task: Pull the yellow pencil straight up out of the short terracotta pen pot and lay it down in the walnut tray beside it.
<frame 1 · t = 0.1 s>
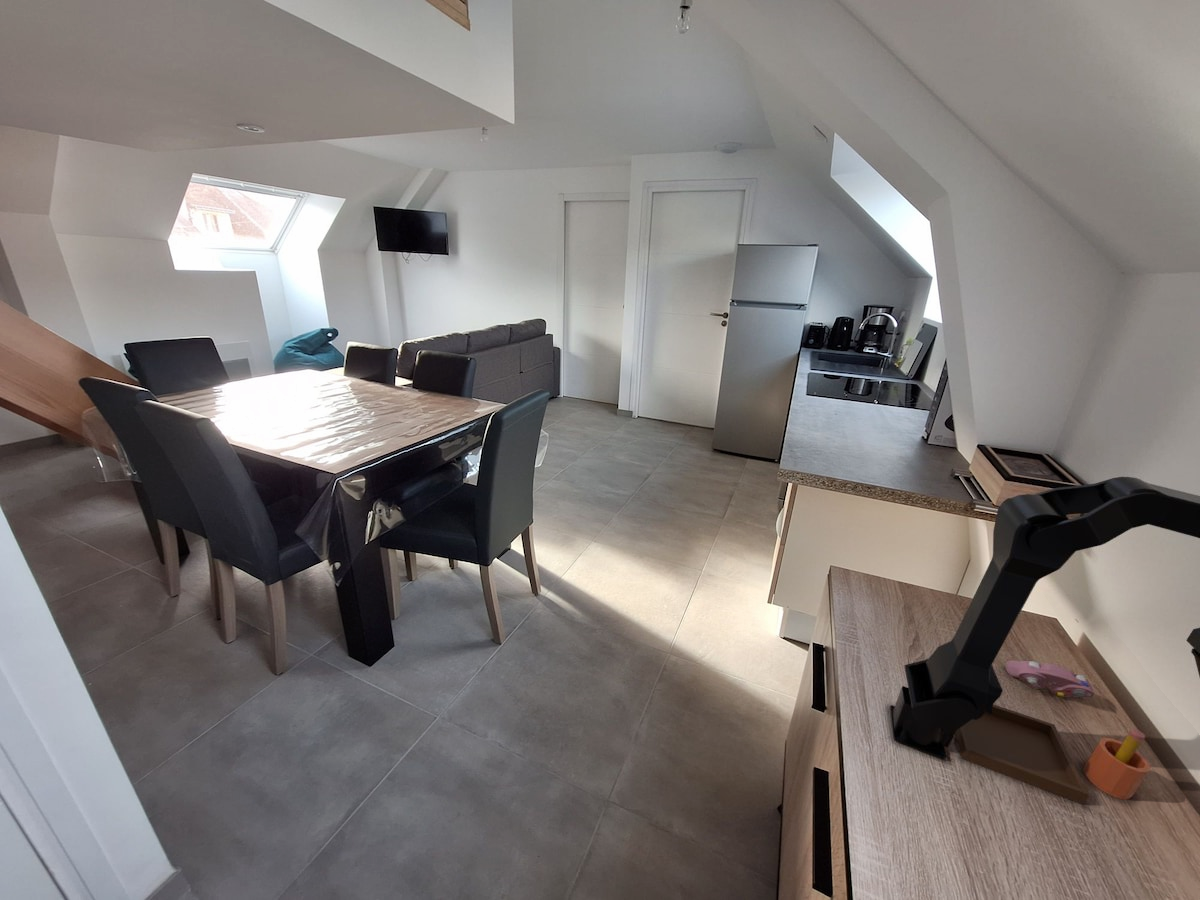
pen pot: (1106, 781, 62), on the sideboard
pencil: (1108, 779, 62), resting on pen pot
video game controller: (1042, 689, 77), on the sideboard
tray: (1006, 745, 67), on the sideboard
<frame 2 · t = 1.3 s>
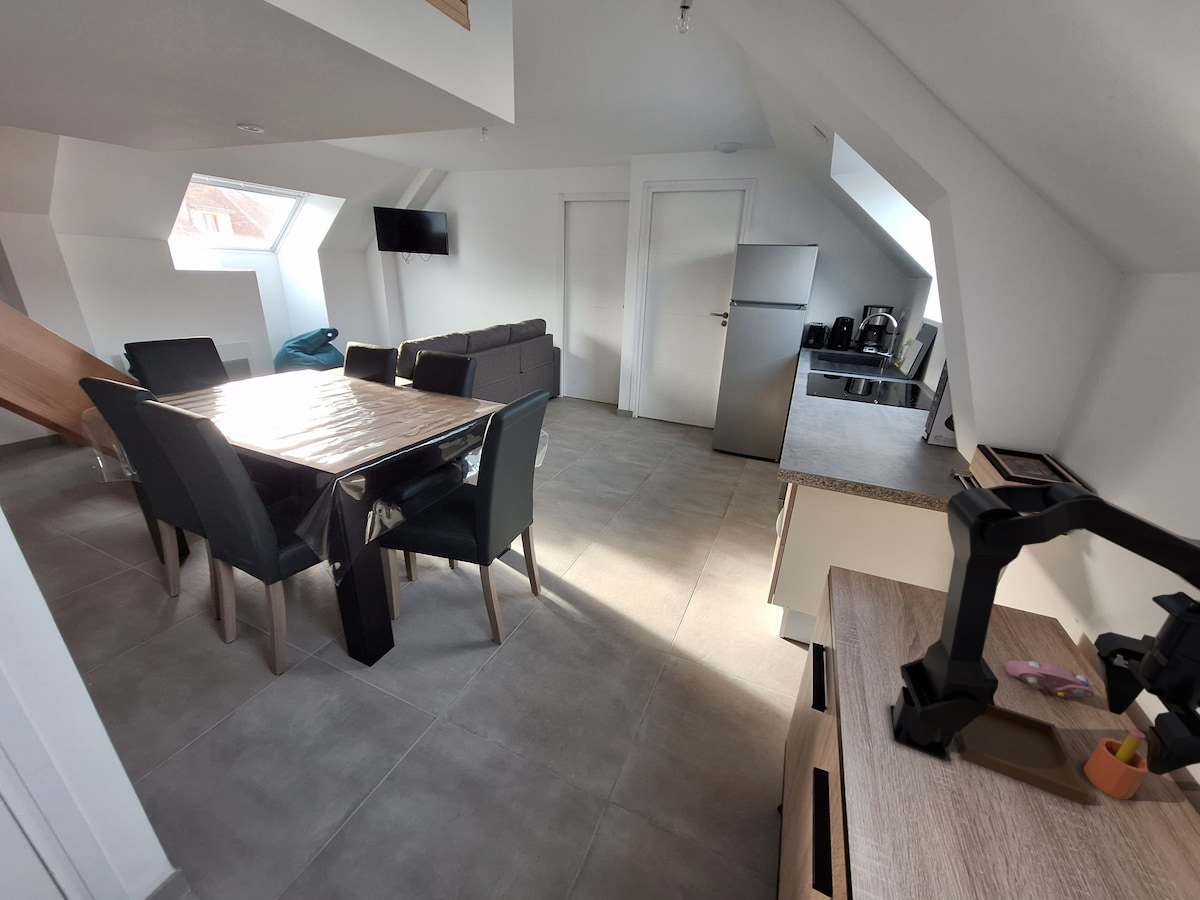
hand: (1132, 740, 60), 8 cm above the sideboard, tool pointing down, fingers open, 9 cm apart
nothing on the sideboard moved.
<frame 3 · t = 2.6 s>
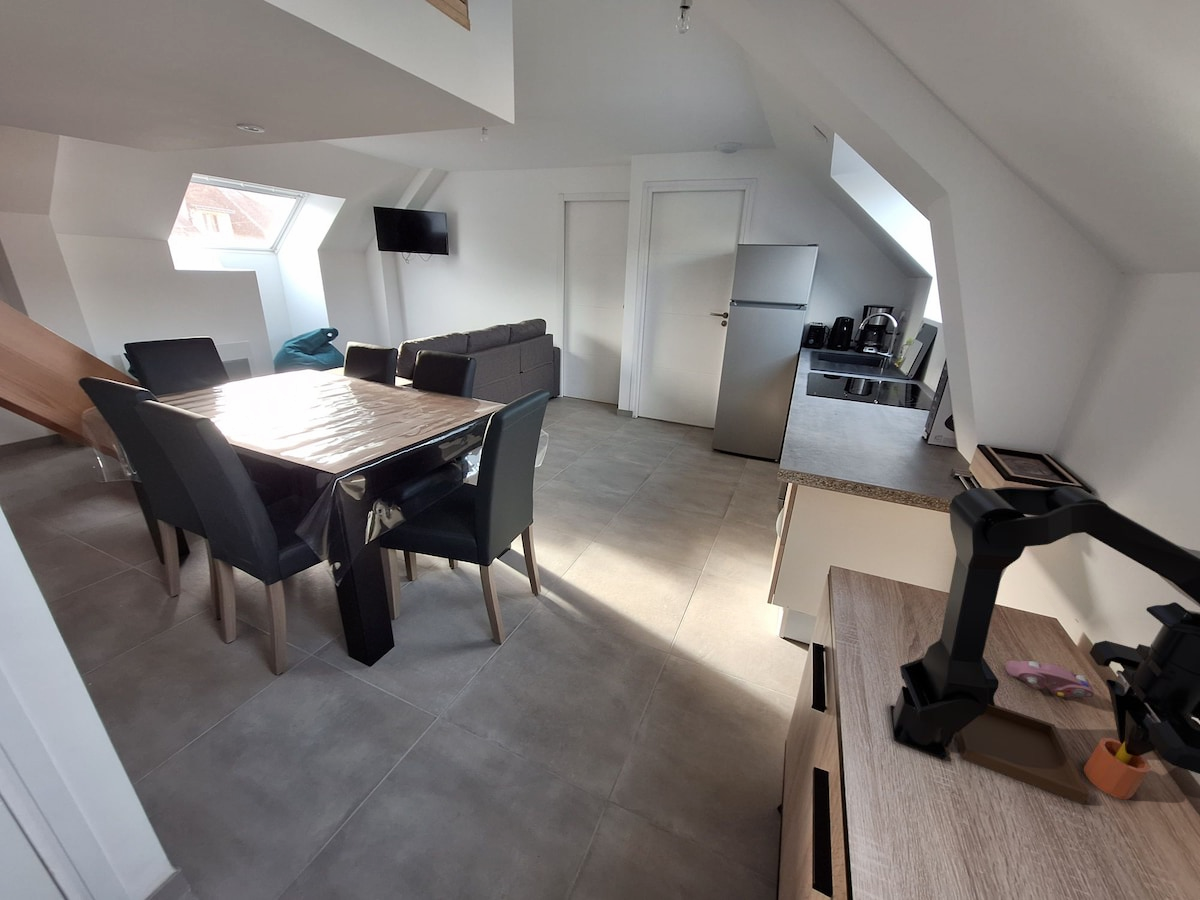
hand: (1127, 748, 60), 7 cm above the sideboard, tool pointing down, fingers closed on pencil, 1 cm apart
pencil: (1108, 779, 62), point 1 cm above the sideboard, touching gripper
everything else where it was.
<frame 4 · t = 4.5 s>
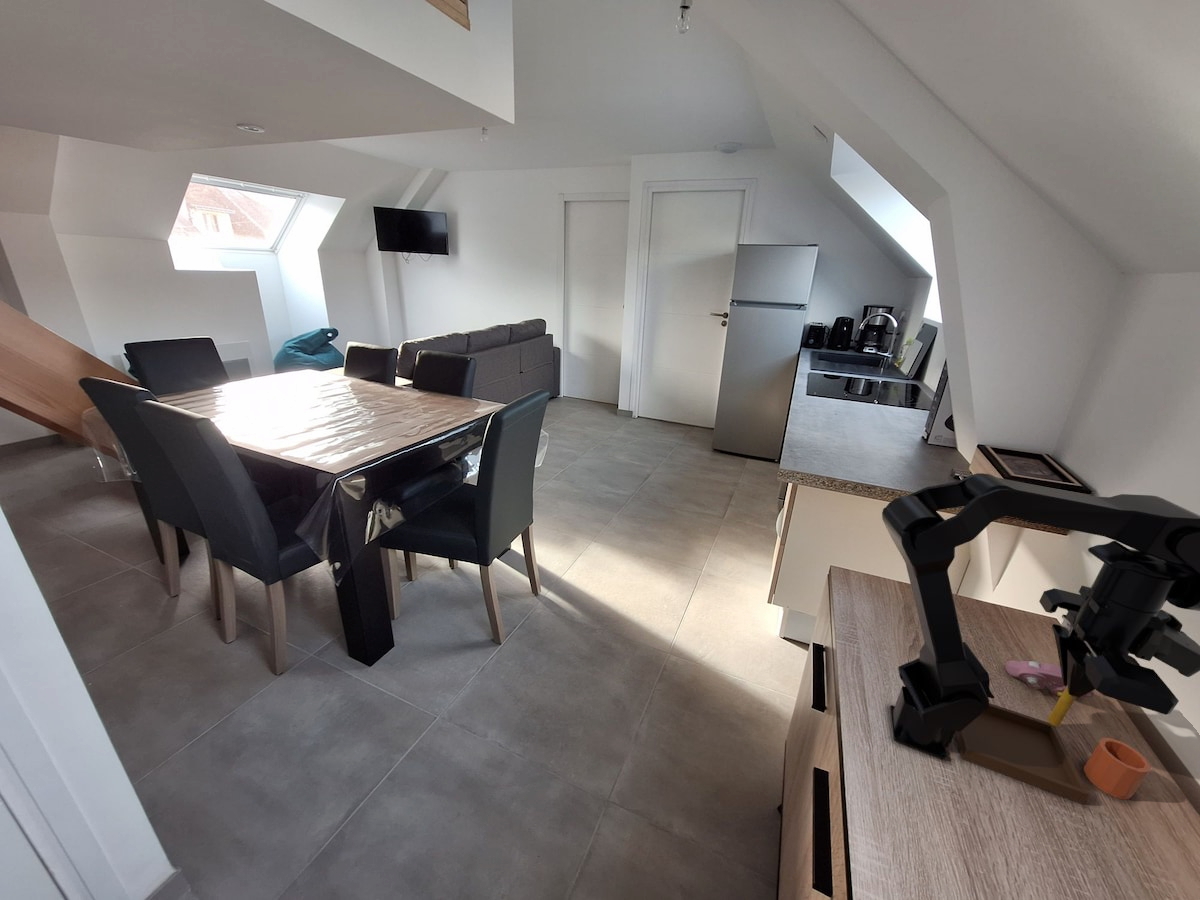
hand: (1071, 691, 61), 13 cm above the sideboard, tool pointing down, fingers closed on pencil
pencil: (1053, 722, 63), point 7 cm above the sideboard, touching gripper
everything else where it was.
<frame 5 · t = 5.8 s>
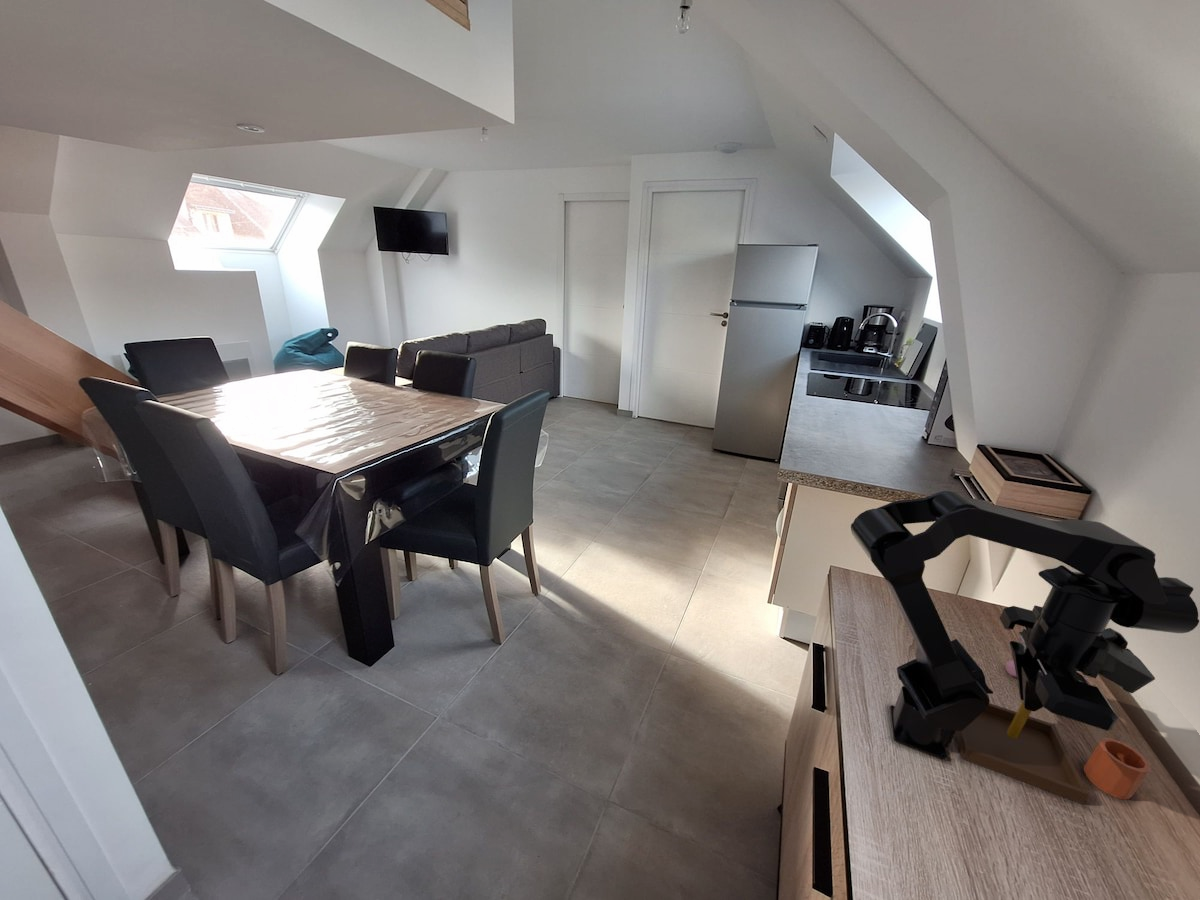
hand: (1027, 705, 64), 8 cm above the sideboard, tool pointing down, fingers closed on pencil, 1 cm apart
pencil: (1011, 735, 66), point 2 cm above the sideboard, touching gripper
everything else where it was.
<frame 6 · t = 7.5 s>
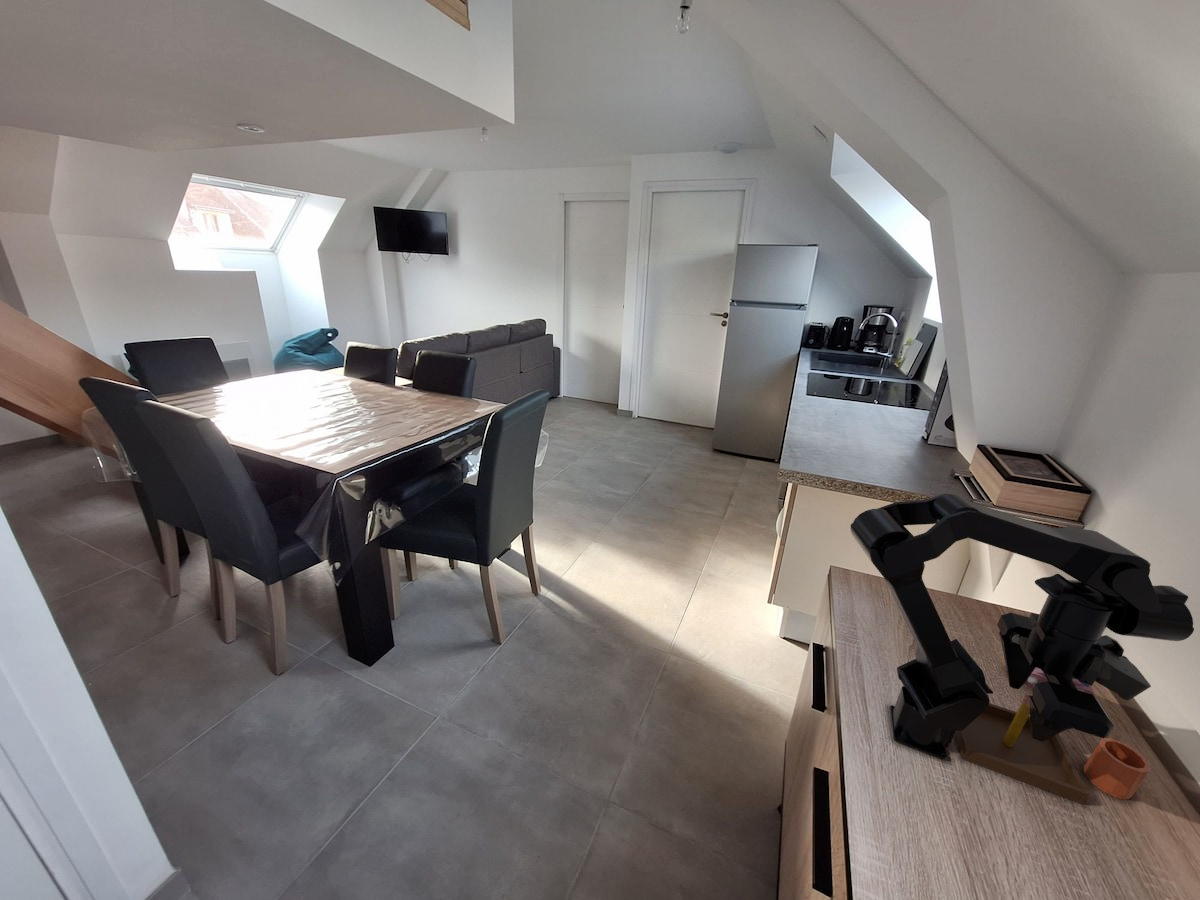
hand: (1024, 711, 64), 7 cm above the sideboard, tool pointing down, fingers open, 9 cm apart
pencil: (1007, 743, 67), resting on tray
everything else where it was.
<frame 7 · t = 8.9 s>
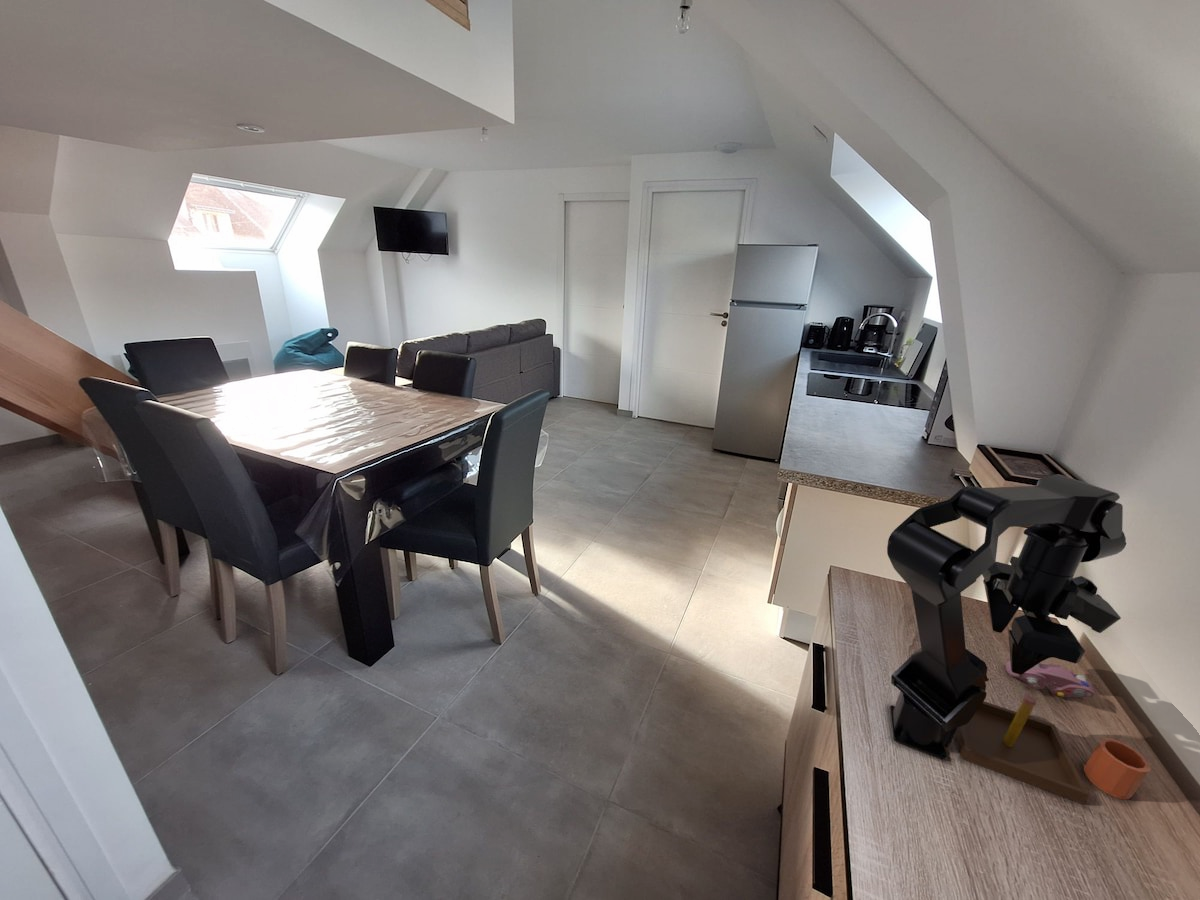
hand: (1005, 650, 68), 12 cm above the sideboard, tool pointing down, fingers open, 9 cm apart
nothing on the sideboard moved.
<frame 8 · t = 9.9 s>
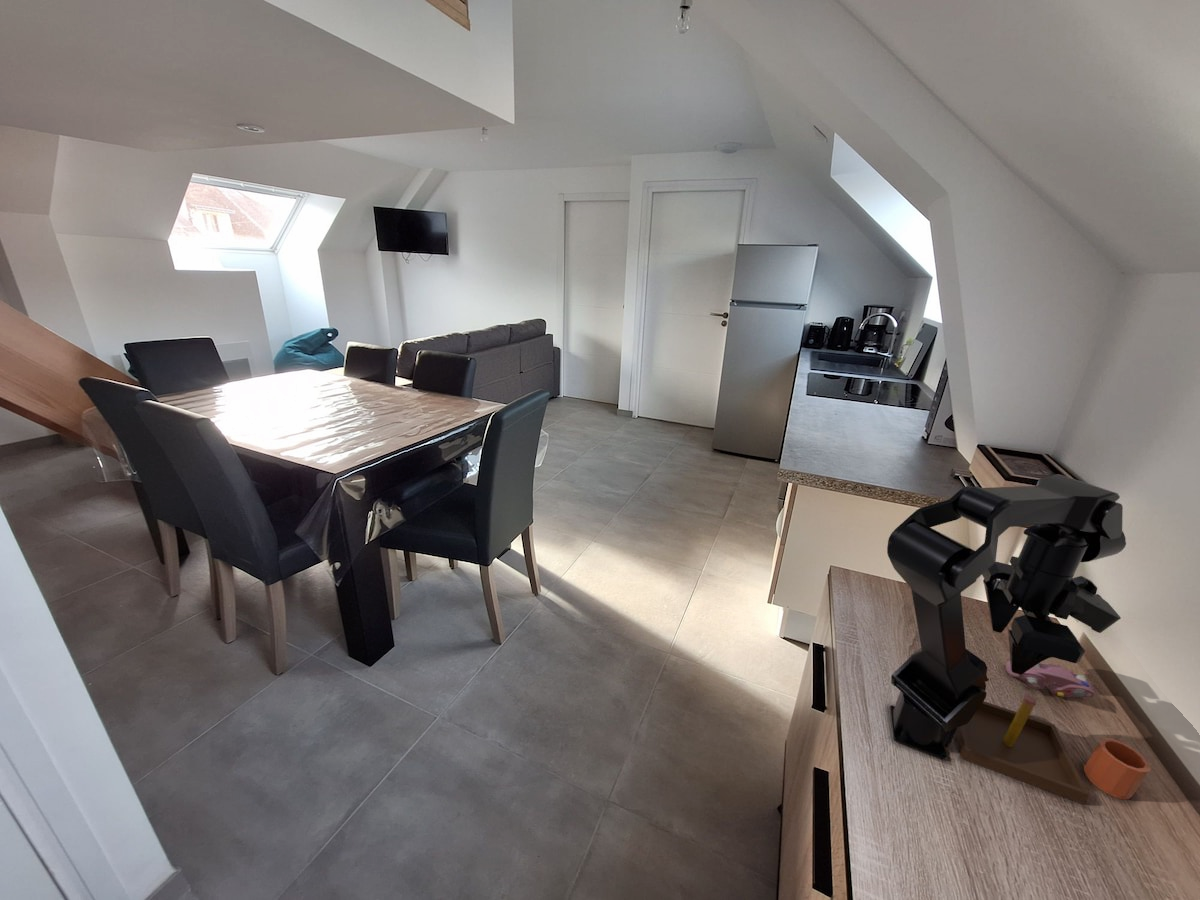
hand: (1005, 650, 68), 12 cm above the sideboard, tool pointing down, fingers open, 9 cm apart
nothing on the sideboard moved.
at the end: pencil inside the target area in the tray (0.0 cm from its centre), point 0.5 cm above the tray's base; the gripper is holding nothing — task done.
